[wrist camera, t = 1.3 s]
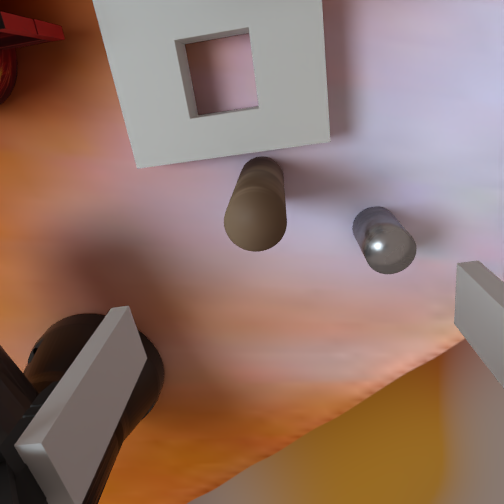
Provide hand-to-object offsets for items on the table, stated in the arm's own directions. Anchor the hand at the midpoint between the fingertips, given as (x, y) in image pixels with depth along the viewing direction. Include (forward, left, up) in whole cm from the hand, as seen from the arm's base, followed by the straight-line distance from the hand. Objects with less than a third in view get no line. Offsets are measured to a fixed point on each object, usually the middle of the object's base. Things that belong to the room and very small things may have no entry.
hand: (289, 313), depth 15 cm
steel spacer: (+8, -5, -22) cm, 24 cm away
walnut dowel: (-2, +1, -22) cm, 22 cm away
